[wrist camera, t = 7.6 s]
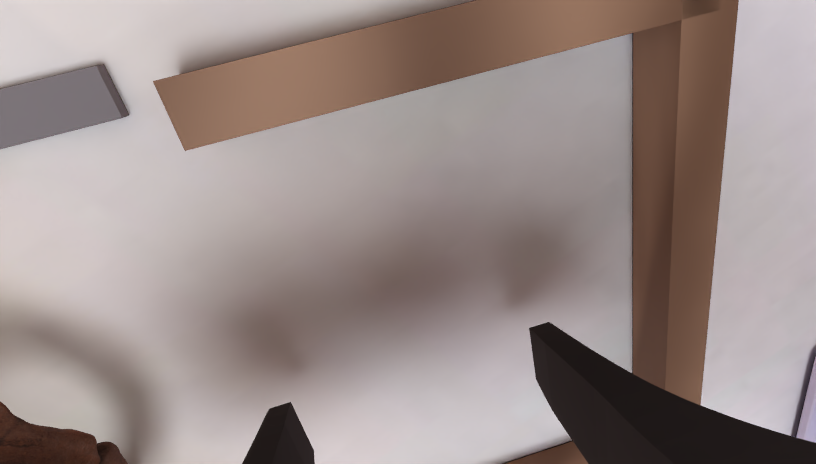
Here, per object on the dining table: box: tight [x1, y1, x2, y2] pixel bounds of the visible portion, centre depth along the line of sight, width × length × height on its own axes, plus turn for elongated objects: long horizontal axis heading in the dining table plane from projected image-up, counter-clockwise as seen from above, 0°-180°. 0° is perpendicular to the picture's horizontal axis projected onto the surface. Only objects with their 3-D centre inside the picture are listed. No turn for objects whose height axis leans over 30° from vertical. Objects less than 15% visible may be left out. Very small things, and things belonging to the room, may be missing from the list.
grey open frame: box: [0, 65, 129, 149], centre depth 14 cm, size 16×20×1 cm
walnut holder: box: [153, 0, 739, 464], centre depth 14 cm, size 14×19×2 cm
